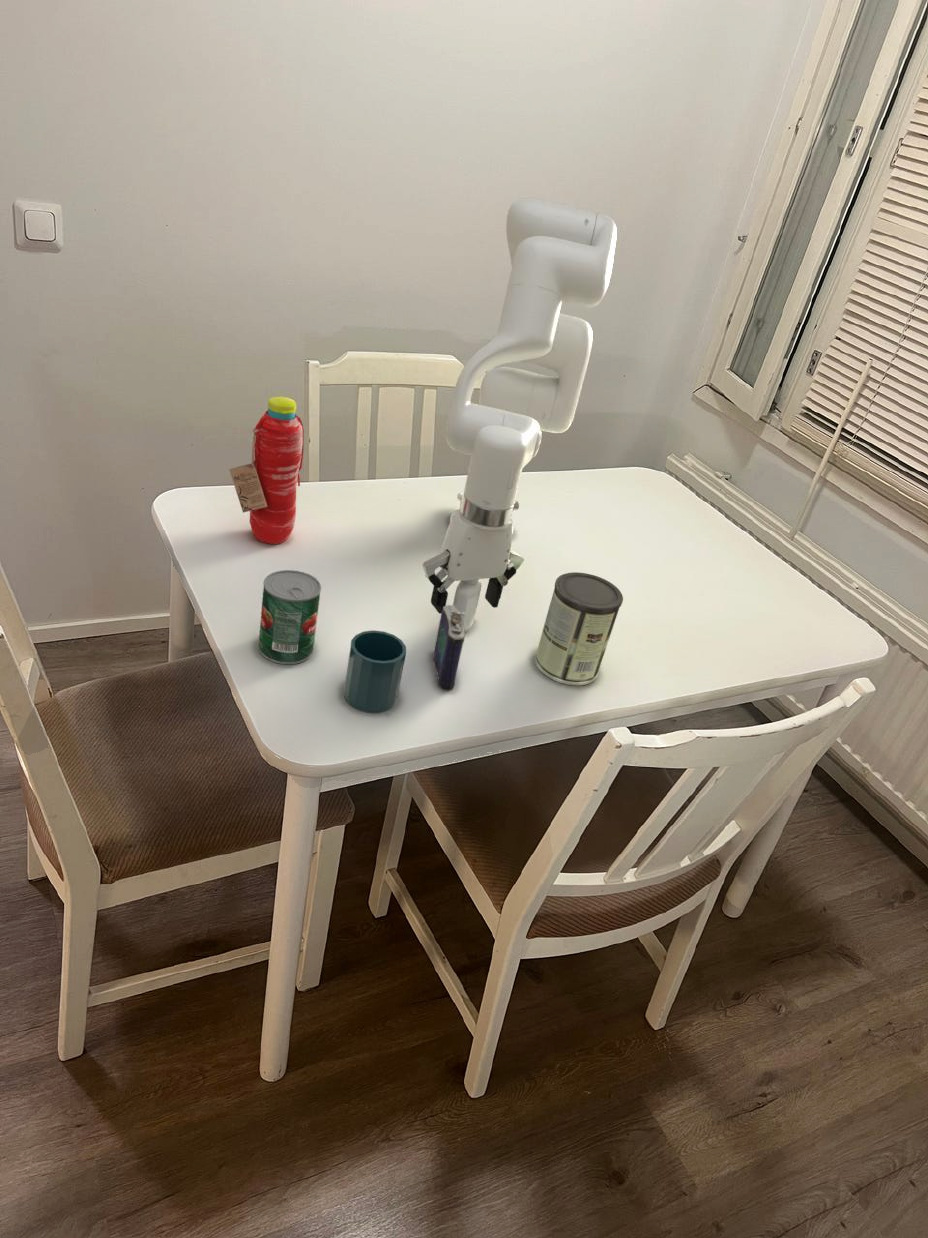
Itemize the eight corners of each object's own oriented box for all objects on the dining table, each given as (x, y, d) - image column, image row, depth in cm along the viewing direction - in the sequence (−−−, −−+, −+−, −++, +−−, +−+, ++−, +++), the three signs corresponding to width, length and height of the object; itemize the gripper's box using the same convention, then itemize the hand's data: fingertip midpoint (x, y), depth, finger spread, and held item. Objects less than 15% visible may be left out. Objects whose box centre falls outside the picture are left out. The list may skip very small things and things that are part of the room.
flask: (431, 652, 136) (443, 593, 130) (449, 654, 136) (463, 594, 130) (437, 690, 128) (451, 629, 122) (457, 691, 129) (472, 630, 123)
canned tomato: (250, 637, 130) (255, 572, 124) (301, 629, 134) (308, 566, 128) (268, 668, 125) (274, 603, 119) (321, 660, 129) (329, 596, 123)
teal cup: (336, 683, 125) (343, 633, 120) (384, 676, 128) (393, 627, 124) (354, 716, 120) (363, 666, 115) (404, 708, 123) (414, 659, 119)
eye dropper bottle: (482, 629, 144) (497, 565, 137) (454, 636, 140) (468, 571, 134) (466, 615, 146) (480, 551, 140) (438, 621, 143) (452, 557, 137)
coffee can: (561, 639, 146) (583, 565, 138) (610, 672, 140) (636, 597, 133) (520, 658, 139) (541, 581, 131) (570, 694, 133) (595, 616, 126)
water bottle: (241, 554, 149) (250, 411, 136) (220, 532, 154) (228, 392, 140) (305, 544, 156) (320, 407, 143) (284, 523, 161) (296, 389, 147)
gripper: (523, 495, 139) (500, 588, 148) (423, 500, 131) (405, 598, 140) (547, 518, 134) (522, 613, 143) (445, 525, 126) (425, 625, 135)
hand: (464, 605), depth 141 cm, fingers open, 9 cm apart
